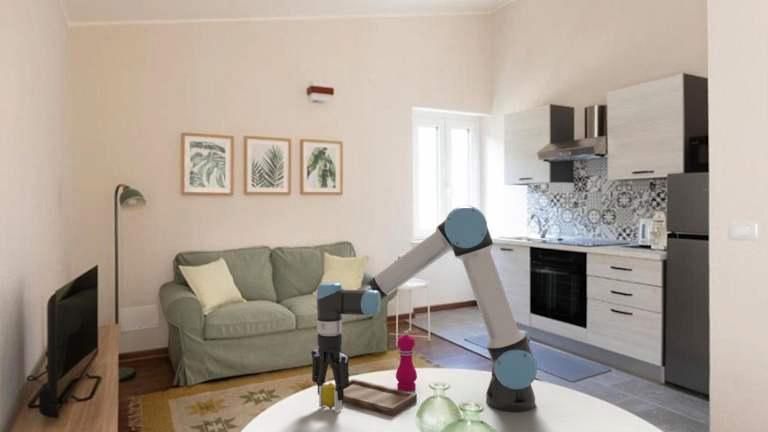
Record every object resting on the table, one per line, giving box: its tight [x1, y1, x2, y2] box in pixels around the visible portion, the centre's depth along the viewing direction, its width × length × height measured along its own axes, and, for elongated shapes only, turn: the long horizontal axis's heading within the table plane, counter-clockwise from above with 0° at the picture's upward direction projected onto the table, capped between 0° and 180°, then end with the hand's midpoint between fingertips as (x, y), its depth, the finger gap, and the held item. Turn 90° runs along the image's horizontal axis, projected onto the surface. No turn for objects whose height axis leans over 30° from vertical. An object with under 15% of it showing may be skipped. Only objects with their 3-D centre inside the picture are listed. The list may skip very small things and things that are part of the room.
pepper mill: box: [395, 330, 418, 393], centre depth 175 cm, size 7×7×20 cm
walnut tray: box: [342, 378, 418, 417], centre depth 165 cm, size 26×14×2 cm, turn 55°
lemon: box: [322, 382, 336, 410], centre depth 157 cm, size 6×6×8 cm
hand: (330, 407), depth 157 cm, fingers closed on lemon, 5 cm apart
